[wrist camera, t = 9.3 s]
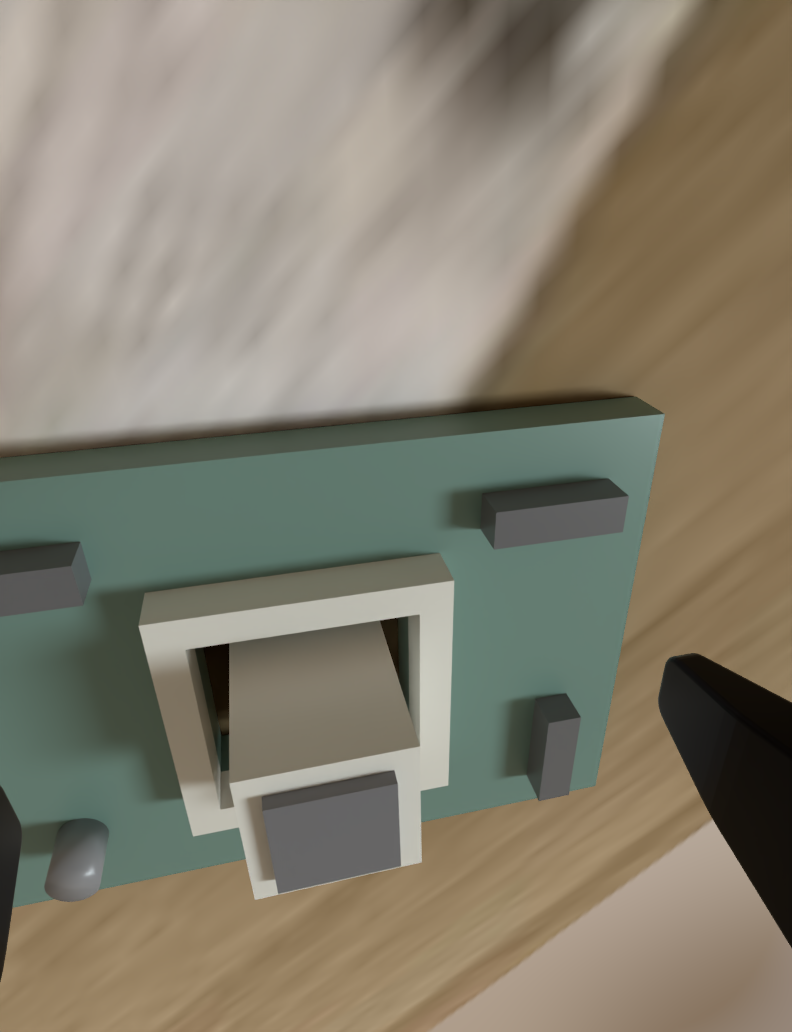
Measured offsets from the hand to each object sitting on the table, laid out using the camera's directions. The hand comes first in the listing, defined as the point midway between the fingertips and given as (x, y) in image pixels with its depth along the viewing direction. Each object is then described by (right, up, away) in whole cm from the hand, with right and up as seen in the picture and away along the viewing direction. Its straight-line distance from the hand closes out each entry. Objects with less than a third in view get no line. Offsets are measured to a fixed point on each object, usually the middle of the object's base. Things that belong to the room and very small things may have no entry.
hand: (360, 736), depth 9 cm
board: (-3, -2, +14) cm, 14 cm away
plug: (-3, -2, +14) cm, 14 cm away
